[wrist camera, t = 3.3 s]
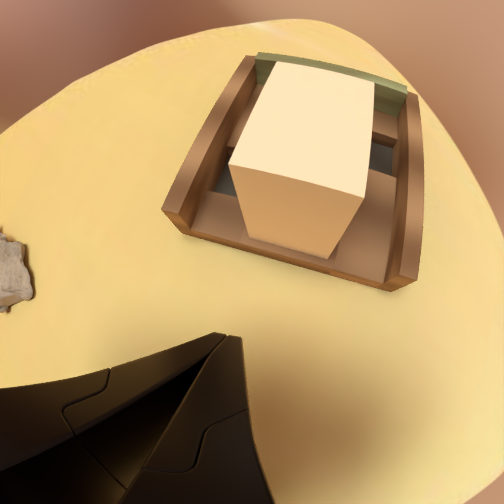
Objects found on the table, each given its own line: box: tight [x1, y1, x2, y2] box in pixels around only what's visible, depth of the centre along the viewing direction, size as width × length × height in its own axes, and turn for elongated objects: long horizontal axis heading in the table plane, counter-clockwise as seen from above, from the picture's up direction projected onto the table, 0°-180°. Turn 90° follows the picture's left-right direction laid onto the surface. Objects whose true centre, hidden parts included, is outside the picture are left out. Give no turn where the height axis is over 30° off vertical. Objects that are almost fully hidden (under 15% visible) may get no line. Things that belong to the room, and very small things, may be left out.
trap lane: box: [161, 52, 424, 292], centre depth 18 cm, size 16×15×4 cm
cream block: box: [228, 61, 374, 259], centre depth 14 cm, size 7×5×8 cm
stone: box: [0, 232, 33, 313], centre depth 19 cm, size 6×12×4 cm, turn 36°
